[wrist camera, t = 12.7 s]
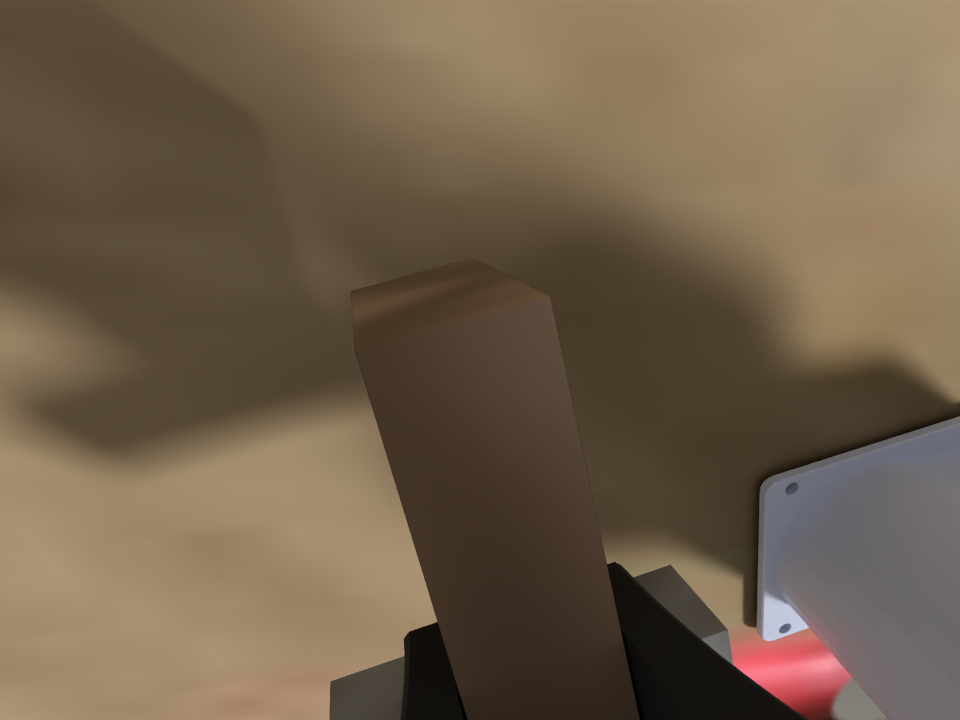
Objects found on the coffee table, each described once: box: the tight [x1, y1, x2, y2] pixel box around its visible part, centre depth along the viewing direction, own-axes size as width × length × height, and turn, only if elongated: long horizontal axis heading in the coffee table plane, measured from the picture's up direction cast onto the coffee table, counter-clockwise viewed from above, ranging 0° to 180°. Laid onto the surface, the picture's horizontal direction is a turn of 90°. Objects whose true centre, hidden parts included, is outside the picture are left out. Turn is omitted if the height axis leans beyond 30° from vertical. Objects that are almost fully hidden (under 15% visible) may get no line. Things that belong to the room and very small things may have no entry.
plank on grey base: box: [330, 259, 733, 720], centre depth 11 cm, size 8×9×5 cm
